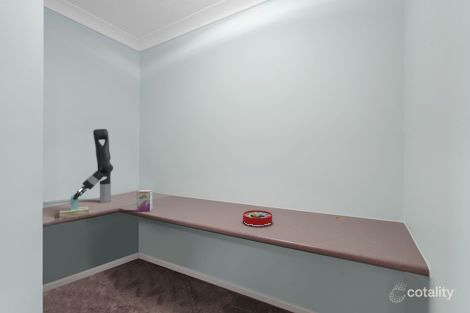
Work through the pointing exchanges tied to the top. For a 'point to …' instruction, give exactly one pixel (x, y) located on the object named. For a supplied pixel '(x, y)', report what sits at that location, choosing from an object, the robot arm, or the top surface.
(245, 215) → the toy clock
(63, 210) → the birch plinth
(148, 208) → the candy bar box
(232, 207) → the top surface
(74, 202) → the teal block
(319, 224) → the top surface
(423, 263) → the top surface
